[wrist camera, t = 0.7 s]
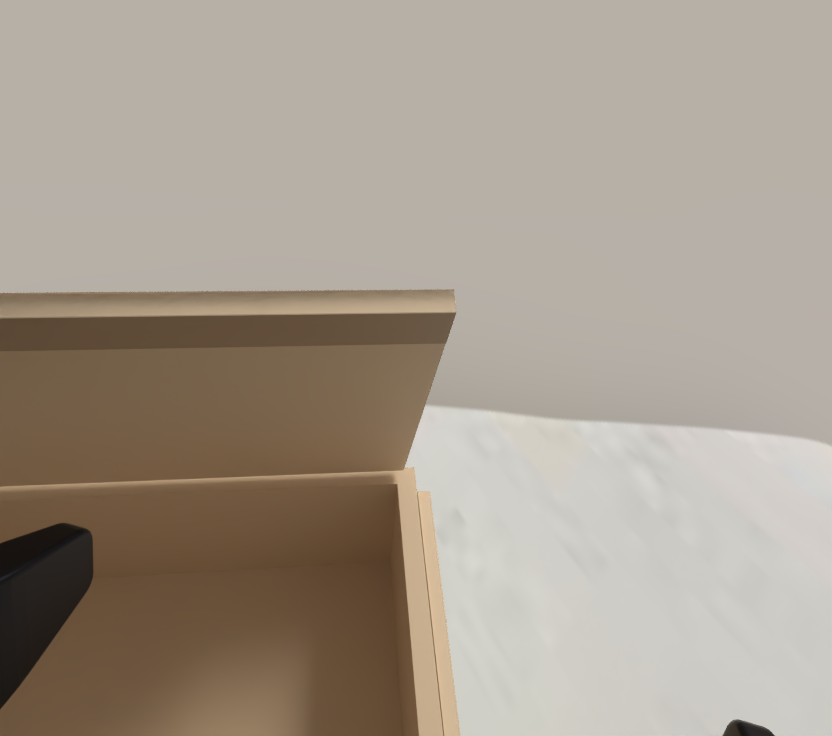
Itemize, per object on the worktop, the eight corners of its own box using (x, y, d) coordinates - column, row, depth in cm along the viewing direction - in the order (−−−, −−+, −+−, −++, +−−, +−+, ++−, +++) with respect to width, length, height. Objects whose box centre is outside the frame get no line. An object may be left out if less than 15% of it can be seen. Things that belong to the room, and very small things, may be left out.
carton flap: (456, 313, 11) (453, 289, 11) (-811, 328, 9) (-789, 299, 9) (403, 470, 21) (402, 457, 21) (-184, 494, 19) (-180, 479, 19)
